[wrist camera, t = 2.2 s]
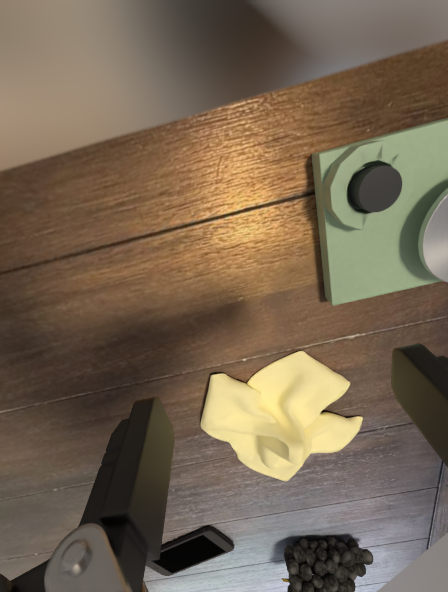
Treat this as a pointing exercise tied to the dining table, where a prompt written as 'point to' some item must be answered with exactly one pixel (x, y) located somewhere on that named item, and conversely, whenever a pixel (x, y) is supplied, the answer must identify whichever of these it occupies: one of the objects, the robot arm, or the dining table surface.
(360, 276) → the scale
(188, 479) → the dining table surface
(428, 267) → the weighing plate
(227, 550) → the smartphone
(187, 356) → the dining table surface
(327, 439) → the cloth
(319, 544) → the fruit
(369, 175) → the button
